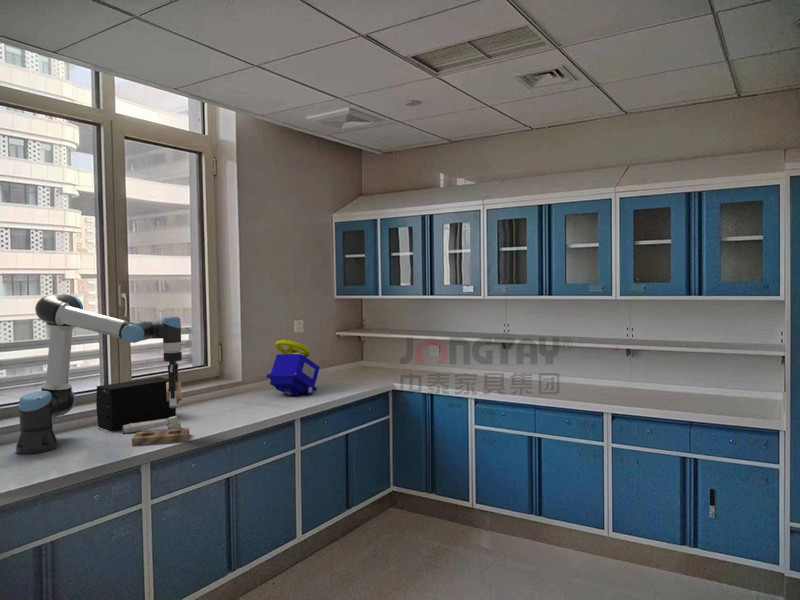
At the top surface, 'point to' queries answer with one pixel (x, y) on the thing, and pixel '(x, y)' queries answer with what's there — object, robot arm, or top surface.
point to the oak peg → (178, 393)
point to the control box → (293, 369)
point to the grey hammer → (152, 425)
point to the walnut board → (160, 436)
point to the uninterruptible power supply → (132, 403)
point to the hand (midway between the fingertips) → (174, 404)
